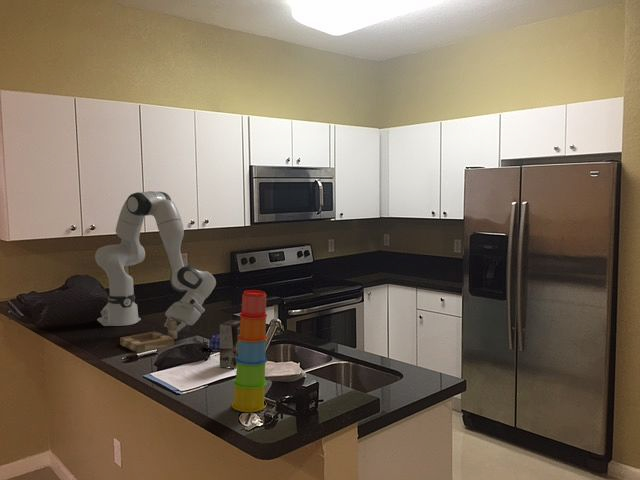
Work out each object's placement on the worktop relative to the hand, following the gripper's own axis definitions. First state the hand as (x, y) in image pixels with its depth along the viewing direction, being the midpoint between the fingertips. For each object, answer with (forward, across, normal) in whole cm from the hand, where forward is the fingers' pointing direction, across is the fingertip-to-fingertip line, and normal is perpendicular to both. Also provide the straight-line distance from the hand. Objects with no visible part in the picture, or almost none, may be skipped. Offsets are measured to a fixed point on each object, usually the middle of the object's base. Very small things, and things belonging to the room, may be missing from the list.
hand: (171, 328), depth 235 cm
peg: (+3, 0, +4) cm, 5 cm away
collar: (+12, +2, -6) cm, 13 cm away
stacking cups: (+19, +85, -12) cm, 88 cm away
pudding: (-1, +26, +8) cm, 27 cm away
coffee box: (+5, +49, +2) cm, 49 cm away
